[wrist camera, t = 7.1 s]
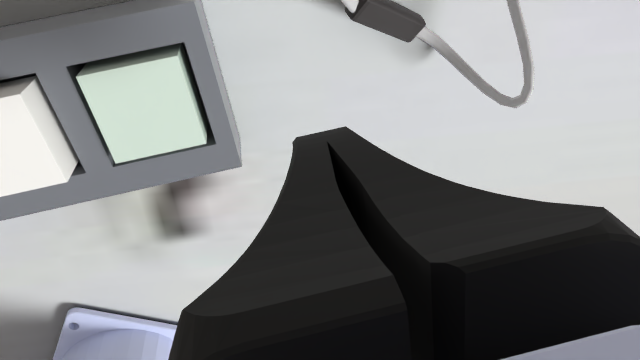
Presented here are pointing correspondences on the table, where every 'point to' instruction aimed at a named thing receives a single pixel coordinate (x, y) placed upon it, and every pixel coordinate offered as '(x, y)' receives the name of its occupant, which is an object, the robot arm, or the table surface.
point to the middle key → (31, 139)
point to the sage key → (145, 102)
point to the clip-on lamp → (395, 20)
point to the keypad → (76, 116)
